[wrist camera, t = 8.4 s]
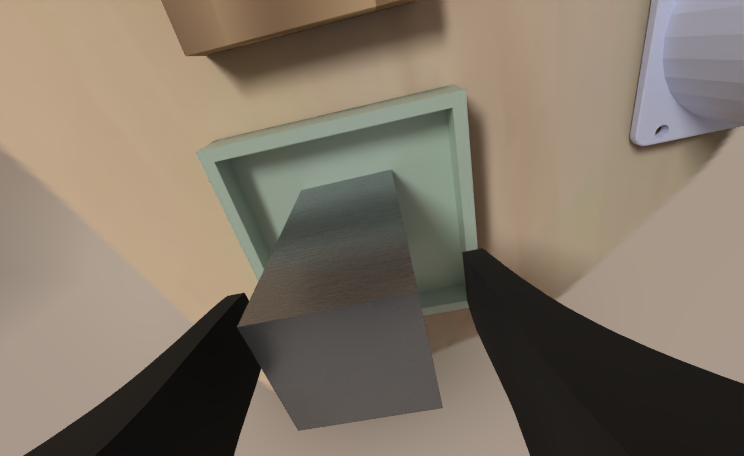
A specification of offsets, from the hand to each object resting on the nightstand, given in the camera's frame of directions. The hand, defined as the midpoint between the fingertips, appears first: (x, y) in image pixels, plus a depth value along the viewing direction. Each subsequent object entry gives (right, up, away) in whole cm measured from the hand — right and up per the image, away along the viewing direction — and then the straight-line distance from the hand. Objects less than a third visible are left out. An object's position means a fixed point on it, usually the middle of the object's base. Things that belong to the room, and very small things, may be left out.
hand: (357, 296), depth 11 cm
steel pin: (0, +3, +4) cm, 5 cm away
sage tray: (0, +3, +5) cm, 6 cm away
